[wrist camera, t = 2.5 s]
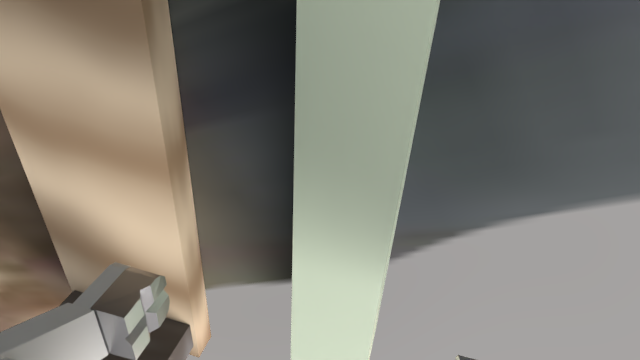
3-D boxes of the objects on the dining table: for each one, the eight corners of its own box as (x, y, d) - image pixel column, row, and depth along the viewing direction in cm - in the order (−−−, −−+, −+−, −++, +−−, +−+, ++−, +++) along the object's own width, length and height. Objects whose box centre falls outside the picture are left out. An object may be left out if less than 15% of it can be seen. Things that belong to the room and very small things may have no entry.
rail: (356, -147, 12) (299, -161, 8) (468, -142, 11) (465, -154, 7) (320, 316, 24) (289, 404, 20) (375, 330, 23) (355, 424, 19)
